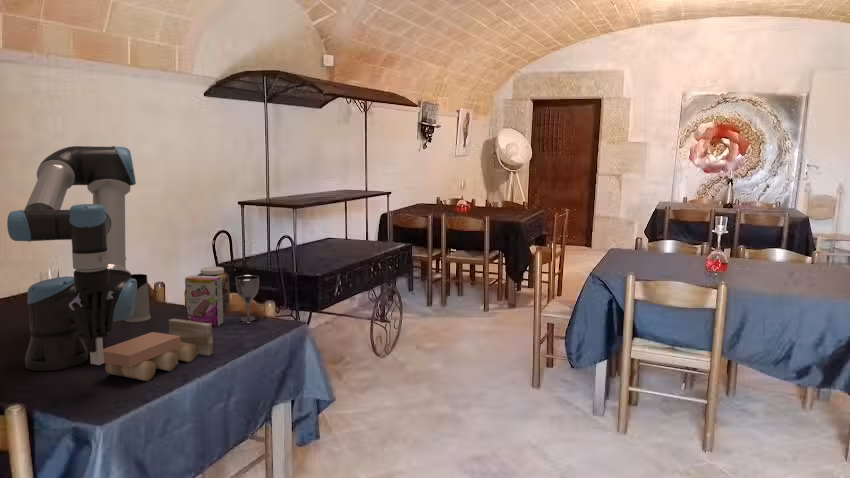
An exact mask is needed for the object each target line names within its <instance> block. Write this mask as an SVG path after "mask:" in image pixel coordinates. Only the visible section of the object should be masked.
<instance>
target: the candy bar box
mask: <svg viewBox="0 0 850 478" xmlns="http://www.w3.org/2000/svg"><path fill="white" fill-rule="evenodd" d="M197 275H198V274H196V275H189V276H186V277H185V278H184V285H185V287H184V288H185V289H184V290H185V310H186V311H185V313H186V316H185V317H186V320H189V321H196V322H203V323H210V324H212V327H220V326H221V325H222V324H223V323H224V311H223V291H222V277H218V276H197Z"/></svg>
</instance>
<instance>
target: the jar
mask: <svg viewBox="0 0 850 478" xmlns="http://www.w3.org/2000/svg"><path fill="white" fill-rule="evenodd" d="M196 275H197V276H218V277H222V291H223V312H224V311H227V310H229V309H231V302H230V301H231V299H230V297H231V296H230V295H231V294H230V291H231V290H230V277H229V276H230V275H229V274H228V273H227V272H225V269H224V267H222V266H206V267H201V268H200V273H197V274H196Z"/></svg>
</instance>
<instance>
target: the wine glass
mask: <svg viewBox="0 0 850 478" xmlns="http://www.w3.org/2000/svg"><path fill="white" fill-rule="evenodd" d="M234 280H235V281H234V282H235V284H234V285H235V290H236V293H237V295H238V296H239V297H240V299H242V300H243V301H244V303H245V306H246V307H245V308H246V316H244V318H243V317H241V318H242V319H241V320H243V321H251V320H254V317H255V316H251V315H250V308H251V307H250V306H251V302H252V300H253V299H254V298H255V297H256V296H257V294H258V291H259V289H260V288H259V286H260V276H258V275H254V274H251V275H250V274H245V275H237V276H235V277H234Z"/></svg>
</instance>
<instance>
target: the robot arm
mask: <svg viewBox="0 0 850 478" xmlns="http://www.w3.org/2000/svg"><path fill="white" fill-rule="evenodd" d="M133 164H134V163H133V160H132V154H131V150H130V149H129V148H127V147H124V146H115V145H112V146H92V145H91V146H87V145H86V146H85V145H84V146H82V145H81V146H79V145H73V146H67V147H62V148H61V149H58V150H57V151H55V152H53V153H51V154H49V155H48V156H47V157H45V158H44V159H43V160H42V161H41V163H40V164H39V166H38V167H37V171H36V179H37V180H36V183H35V185H34V188H33V190H32V192H31V193H30V196H29V198H28V201H27V204H26V205H25V207H24V209H23V210H22V209H19V210H13V211H12V210H11V211H10V212H9V213H8V215H7V224H6V225H7V232H8V236H9V238H10V239H11V240H12V241H14V242H28V243H30V242H38V241H39V242H42V241H43V242H45V241H65V240H66V241H67V240H68V241H69V240H71V247H72V248H71V250H72V251H71V253H72V254H71V257H72V268H73V269H74V271H73V275H72V276H71V275H70V276H68V275H67V276H61V277H60V276H59V277H54V278H48V279H44V280H40V281H38V282H35V283H33V284H32V285H30V286H29V287H28V289H27V302H26V304H27V308H28V320H29V333H30V334H29V335H30V340H29V344H28V347H27V350H26V353H25V357H24V364H25V365H24V366H25V368H26V369H27V370H30V371H35V372H51V371H58V370H60V371H61V370H64V369H69V368H73V367H76V366H80V365H81V364H83V363H85V362H86V361H87V360H88V359H89V357H90V359H89V360H90V361H89V362H90V364H91V365H97V366H100V365H102V364H105V363H104V356H103V349H105V348H106V344H105V338H106V337H108V335H109V334H108V333H111V332H112V327H113V323H116V322H120V321H124V320H128V319H130V318H131V317H132V316H133V314H134V310H135V305H136V298H137V281H136V279H133V278H131V275H132V273H131V272H130V271H129V269H128V270H127V268H126V267H127V266H126V263H127V262H126V261H125V256H126V195H128V194H129V193H130V192H131V186H134V185H136V184H137V182H136V176H135V170H134V169H135V168H134V165H133ZM72 186H87V187H86V188H87V191H88V192H89V193H91V194H92V203H85V204H83V203H82V204H81V203H80V204H74V205H72V206H70V207H69V209H61V208H62V206H63V203H64V200H65V198H66V194H67V191H68V190H69V189H70V188H71V187H72ZM84 339H85V340H86V343H85V341H84ZM86 345H87V346H86ZM89 355H90V356H89Z"/></svg>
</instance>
